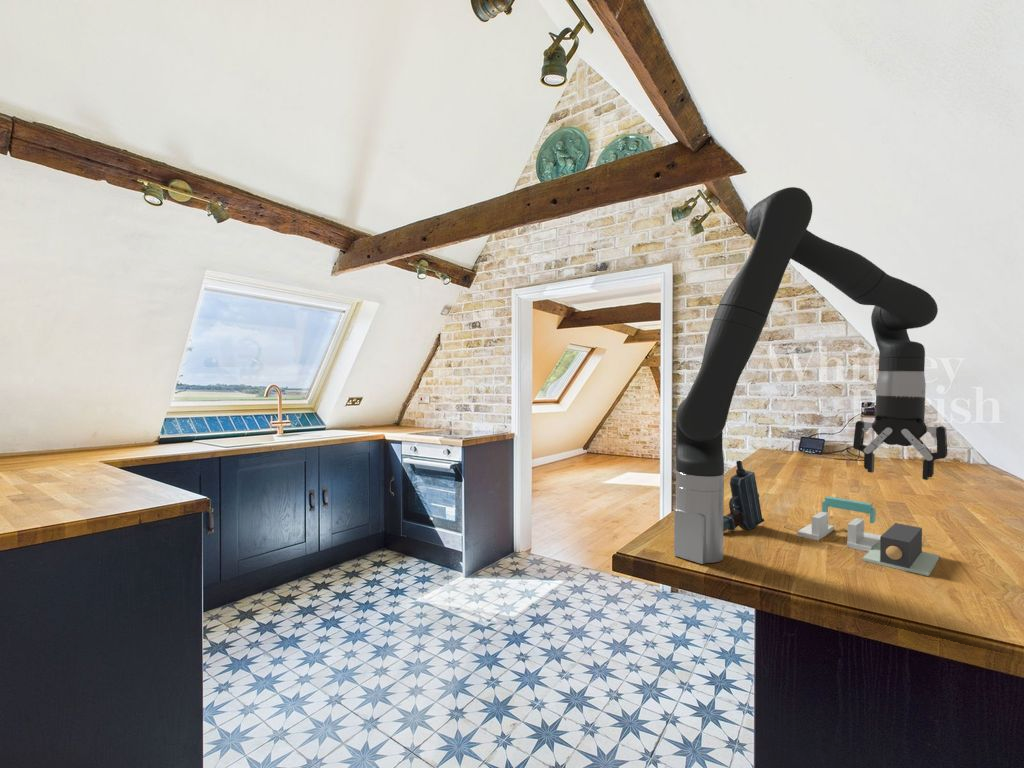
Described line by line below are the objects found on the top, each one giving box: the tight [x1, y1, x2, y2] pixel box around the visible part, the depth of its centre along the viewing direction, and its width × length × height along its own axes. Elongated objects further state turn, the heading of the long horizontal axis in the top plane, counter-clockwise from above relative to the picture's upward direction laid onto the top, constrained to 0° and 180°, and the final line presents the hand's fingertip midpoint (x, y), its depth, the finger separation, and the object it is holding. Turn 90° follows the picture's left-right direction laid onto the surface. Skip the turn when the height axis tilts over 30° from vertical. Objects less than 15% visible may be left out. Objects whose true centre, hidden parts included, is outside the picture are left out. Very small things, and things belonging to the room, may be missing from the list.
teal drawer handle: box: [821, 495, 877, 524], centre depth 112 cm, size 2×10×4 cm, turn 41°
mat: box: [862, 543, 940, 577], centre depth 95 cm, size 14×10×1 cm
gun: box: [723, 460, 765, 533], centre depth 113 cm, size 3×17×15 cm
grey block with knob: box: [880, 522, 923, 568], centre depth 95 cm, size 16×4×5 cm, turn 131°
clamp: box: [796, 511, 883, 553], centre depth 108 cm, size 12×14×5 cm
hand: (897, 475), depth 93 cm, fingers open, 8 cm apart
